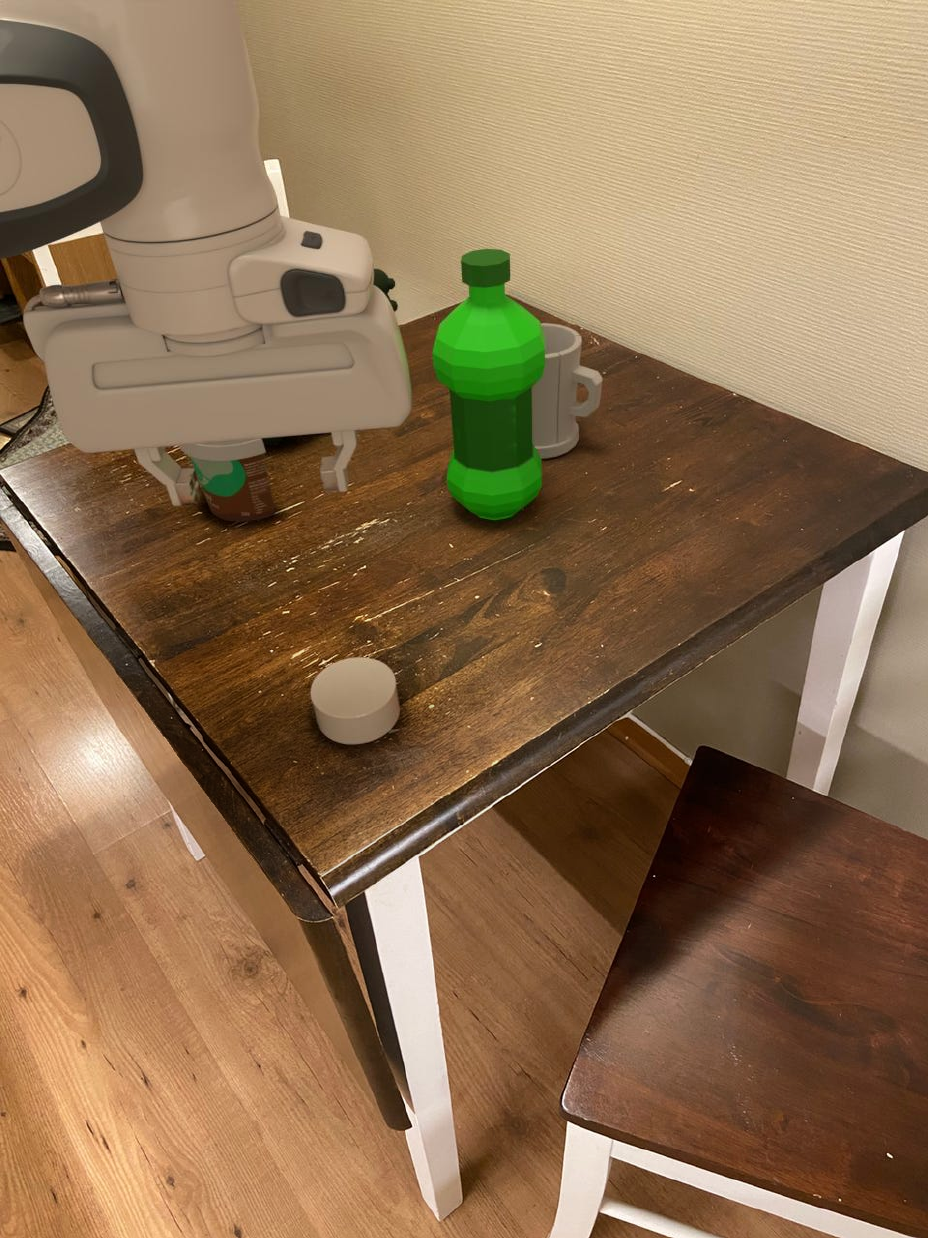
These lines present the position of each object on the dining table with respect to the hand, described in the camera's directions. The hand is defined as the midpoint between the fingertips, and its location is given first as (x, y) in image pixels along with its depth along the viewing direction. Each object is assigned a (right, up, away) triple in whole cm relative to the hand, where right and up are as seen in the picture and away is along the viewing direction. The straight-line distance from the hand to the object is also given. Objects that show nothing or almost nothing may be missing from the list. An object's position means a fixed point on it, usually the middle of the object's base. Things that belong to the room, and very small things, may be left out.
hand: (262, 494), depth 56 cm
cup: (+22, +12, +45) cm, 51 cm away
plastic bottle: (+16, +4, +35) cm, 39 cm away
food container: (-12, +4, +38) cm, 40 cm away
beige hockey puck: (+4, -15, +14) cm, 21 cm away
